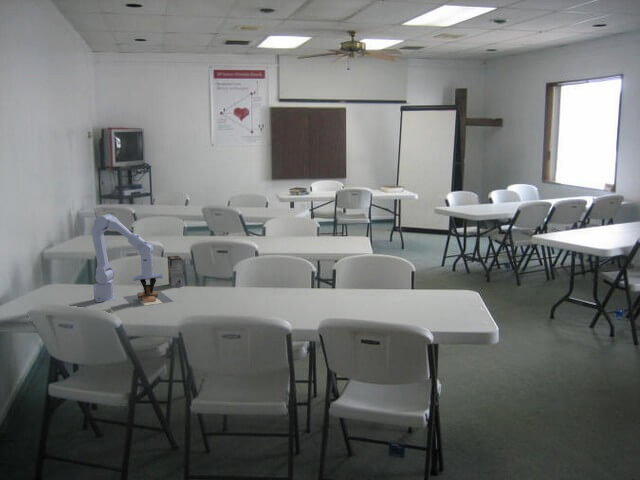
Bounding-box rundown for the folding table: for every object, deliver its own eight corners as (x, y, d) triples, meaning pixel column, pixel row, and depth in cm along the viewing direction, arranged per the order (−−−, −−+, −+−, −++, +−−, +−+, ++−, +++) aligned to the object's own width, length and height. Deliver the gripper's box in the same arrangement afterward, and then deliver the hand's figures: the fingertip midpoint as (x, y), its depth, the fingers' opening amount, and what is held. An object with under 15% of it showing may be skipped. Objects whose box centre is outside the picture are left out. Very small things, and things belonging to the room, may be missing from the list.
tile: (143, 302, 310) (143, 299, 309) (142, 299, 315) (141, 296, 315) (155, 301, 312) (155, 298, 312) (153, 298, 318) (153, 295, 317)
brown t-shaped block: (138, 298, 315) (138, 288, 311) (137, 295, 316) (137, 285, 312) (157, 296, 319) (158, 286, 315) (157, 293, 320) (157, 283, 316)
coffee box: (168, 284, 349) (167, 256, 346) (179, 282, 351) (178, 255, 348) (171, 287, 340) (170, 259, 338) (183, 286, 343) (182, 258, 340)
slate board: (134, 308, 302) (133, 307, 302) (122, 297, 320) (122, 296, 320) (173, 302, 312) (173, 301, 312) (160, 292, 331) (160, 291, 330)
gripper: (160, 264, 318) (161, 289, 320) (131, 266, 312) (132, 292, 315) (162, 267, 312) (164, 293, 314) (133, 269, 306) (134, 296, 308)
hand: (148, 293), depth 314 cm, fingers closed on brown t-shaped block, 2 cm apart
